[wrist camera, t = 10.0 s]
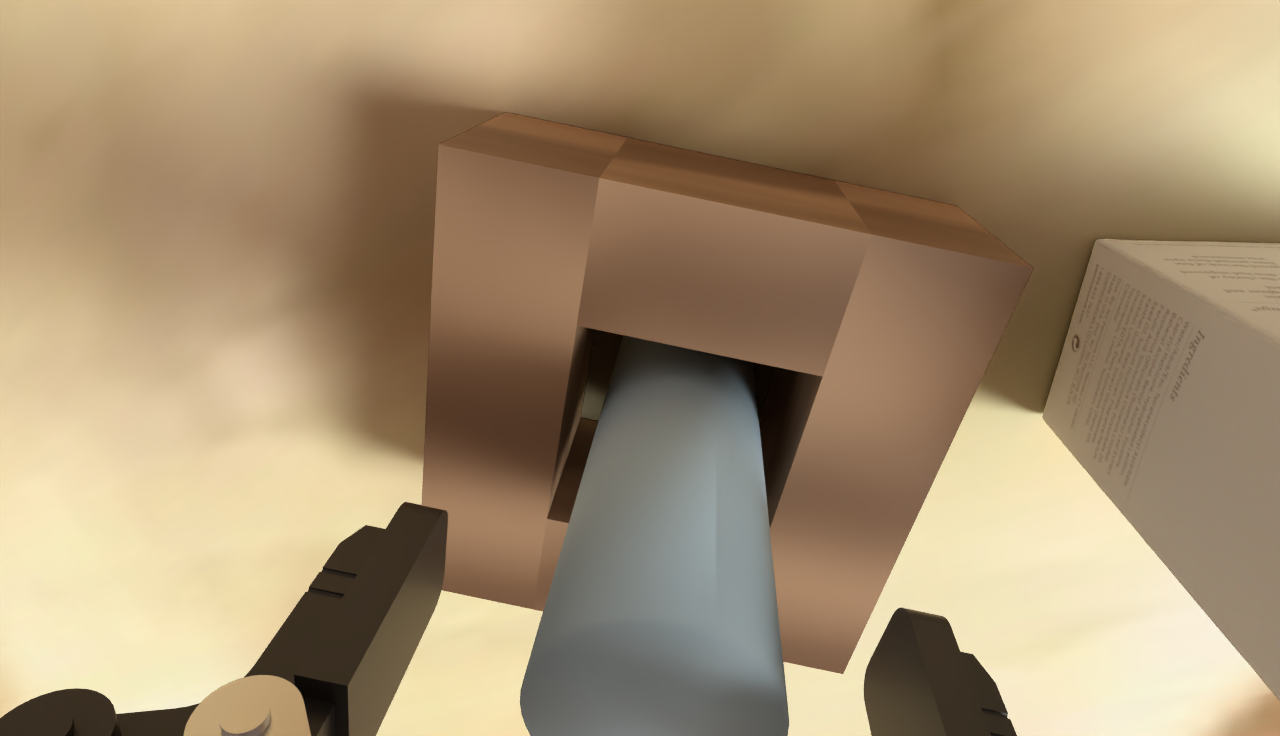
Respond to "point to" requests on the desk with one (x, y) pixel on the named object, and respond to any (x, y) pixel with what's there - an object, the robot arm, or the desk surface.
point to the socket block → (698, 348)
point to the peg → (665, 564)
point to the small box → (1186, 418)
